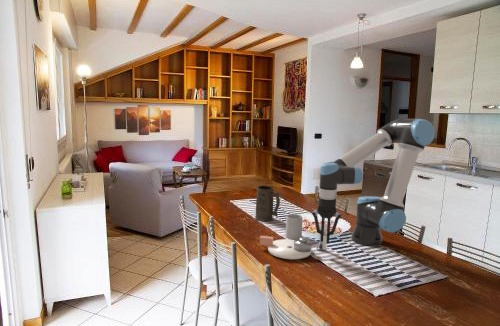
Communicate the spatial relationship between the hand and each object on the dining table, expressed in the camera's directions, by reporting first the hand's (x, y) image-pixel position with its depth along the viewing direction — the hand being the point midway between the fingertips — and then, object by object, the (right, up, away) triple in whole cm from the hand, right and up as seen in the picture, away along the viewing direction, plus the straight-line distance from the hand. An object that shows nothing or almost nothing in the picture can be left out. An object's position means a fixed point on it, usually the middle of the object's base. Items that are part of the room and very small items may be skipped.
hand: (324, 248), depth 158 cm
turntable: (-17, -2, +5) cm, 18 cm away
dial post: (0, -3, +9) cm, 9 cm away
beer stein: (-23, +4, +54) cm, 58 cm away
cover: (-10, -1, +3) cm, 10 cm away
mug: (-11, 0, +27) cm, 29 cm away
